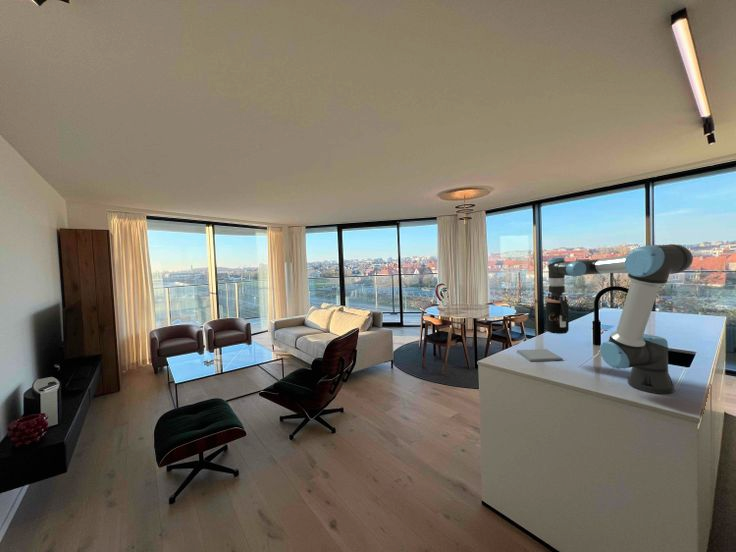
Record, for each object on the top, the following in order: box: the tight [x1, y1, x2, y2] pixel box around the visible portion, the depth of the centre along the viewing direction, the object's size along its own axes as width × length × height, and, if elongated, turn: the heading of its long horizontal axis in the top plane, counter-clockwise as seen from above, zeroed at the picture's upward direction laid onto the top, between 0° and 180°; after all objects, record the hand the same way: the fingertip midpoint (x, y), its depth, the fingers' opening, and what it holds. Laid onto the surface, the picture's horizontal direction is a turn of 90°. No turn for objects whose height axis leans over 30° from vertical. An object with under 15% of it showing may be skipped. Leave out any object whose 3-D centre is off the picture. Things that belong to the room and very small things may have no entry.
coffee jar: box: [545, 298, 570, 335], centre depth 168 cm, size 11×11×18 cm
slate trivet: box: [516, 348, 563, 363], centre depth 182 cm, size 18×18×1 cm
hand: (557, 324), depth 168 cm, fingers closed on coffee jar, 11 cm apart
